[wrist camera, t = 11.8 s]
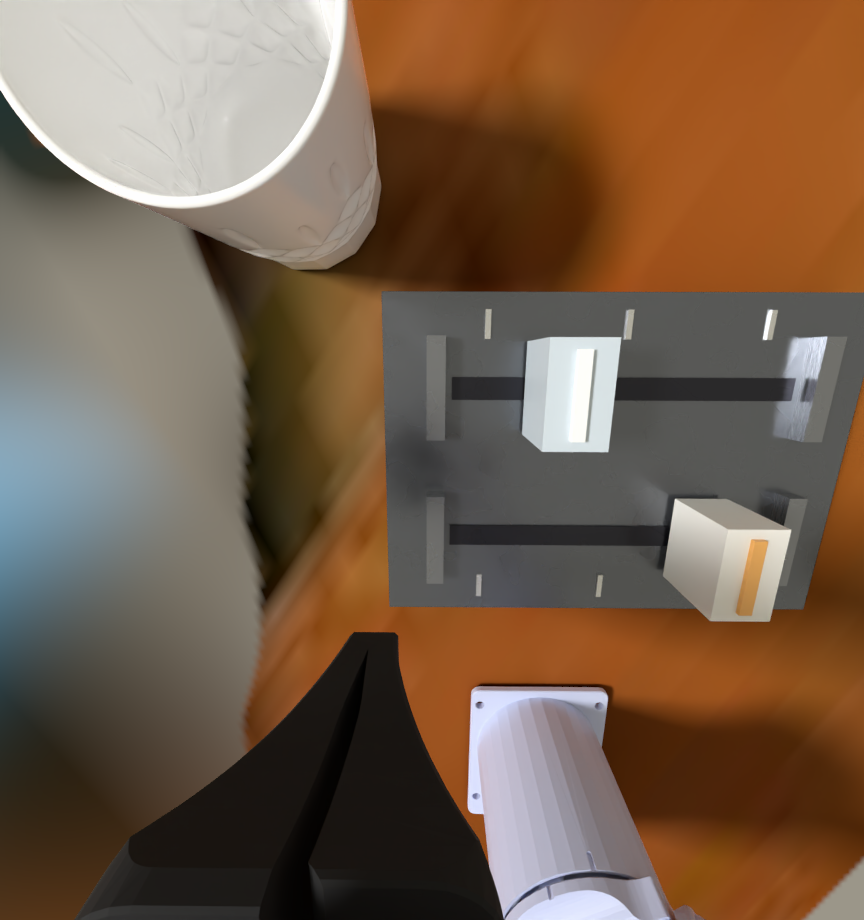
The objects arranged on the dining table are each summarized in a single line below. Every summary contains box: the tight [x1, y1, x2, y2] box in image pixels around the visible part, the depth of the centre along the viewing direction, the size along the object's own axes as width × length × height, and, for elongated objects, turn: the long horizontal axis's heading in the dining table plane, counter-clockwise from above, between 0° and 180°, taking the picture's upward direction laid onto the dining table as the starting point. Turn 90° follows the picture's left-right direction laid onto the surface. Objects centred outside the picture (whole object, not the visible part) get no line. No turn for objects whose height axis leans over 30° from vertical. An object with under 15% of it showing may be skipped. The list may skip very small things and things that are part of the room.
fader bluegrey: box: [522, 337, 621, 452], centre depth 16 cm, size 4×2×4 cm, turn 0°
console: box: [382, 291, 864, 609], centre depth 19 cm, size 15×21×3 cm
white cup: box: [0, 0, 381, 270], centre depth 13 cm, size 8×8×10 cm
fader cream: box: [663, 499, 791, 622], centre depth 17 cm, size 4×2×4 cm, turn 0°
